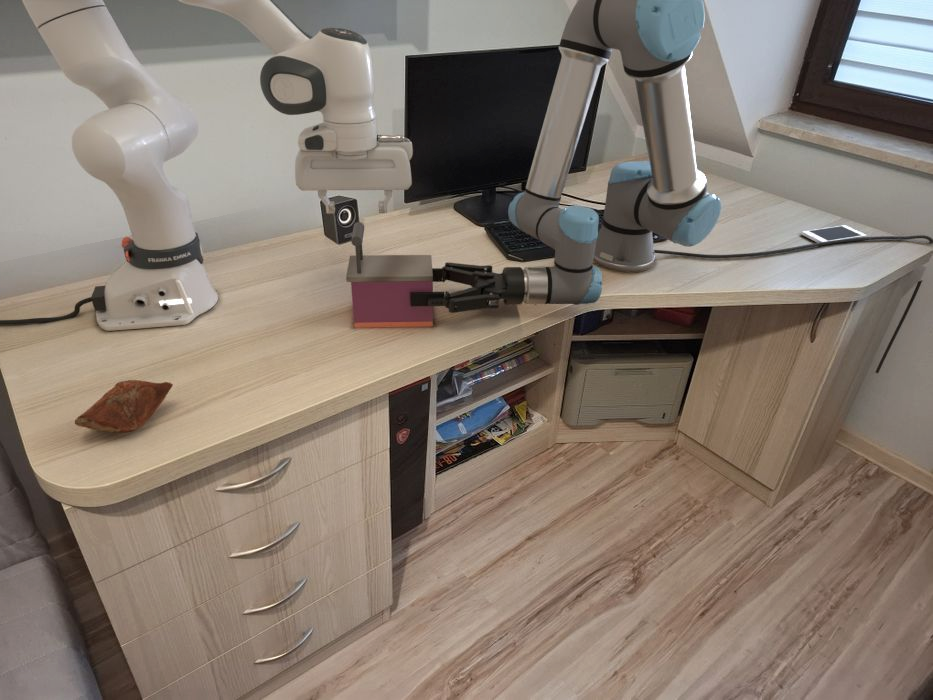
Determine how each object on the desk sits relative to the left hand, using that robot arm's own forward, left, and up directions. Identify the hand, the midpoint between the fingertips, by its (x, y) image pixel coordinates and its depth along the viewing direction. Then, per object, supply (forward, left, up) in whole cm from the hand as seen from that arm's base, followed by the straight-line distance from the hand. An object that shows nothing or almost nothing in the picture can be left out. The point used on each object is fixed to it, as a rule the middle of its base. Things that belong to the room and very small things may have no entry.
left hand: (357, 212), depth 116 cm
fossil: (-42, -19, -22) cm, 51 cm away
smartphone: (+128, -3, -22) cm, 130 cm away
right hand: (+9, -3, -15) cm, 18 cm away
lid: (+5, -2, -12) cm, 13 cm away
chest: (+6, -2, -22) cm, 23 cm away
